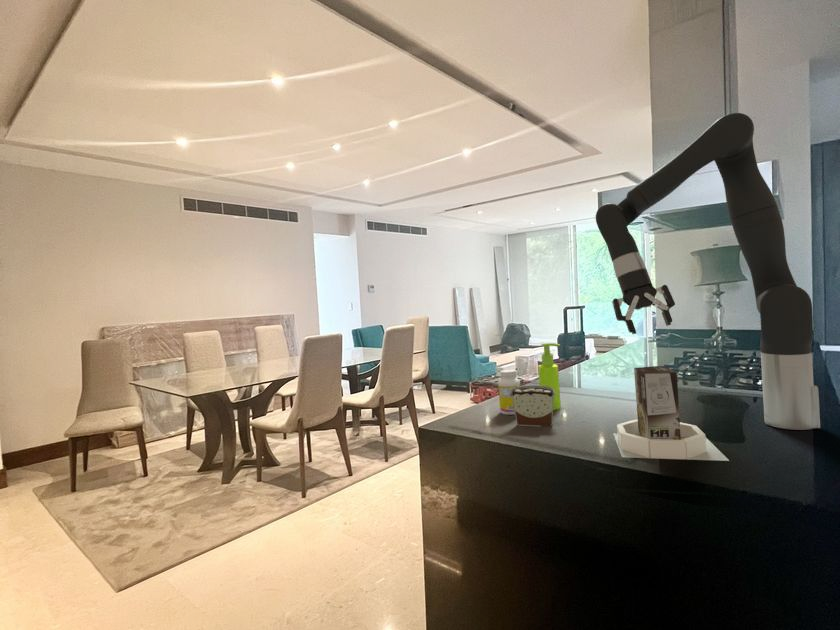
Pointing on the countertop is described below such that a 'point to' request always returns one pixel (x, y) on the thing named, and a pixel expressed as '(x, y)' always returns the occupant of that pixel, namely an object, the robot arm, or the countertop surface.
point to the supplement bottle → (507, 391)
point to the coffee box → (657, 403)
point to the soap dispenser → (550, 373)
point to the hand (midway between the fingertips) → (651, 329)
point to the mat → (709, 455)
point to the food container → (533, 405)
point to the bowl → (662, 442)
